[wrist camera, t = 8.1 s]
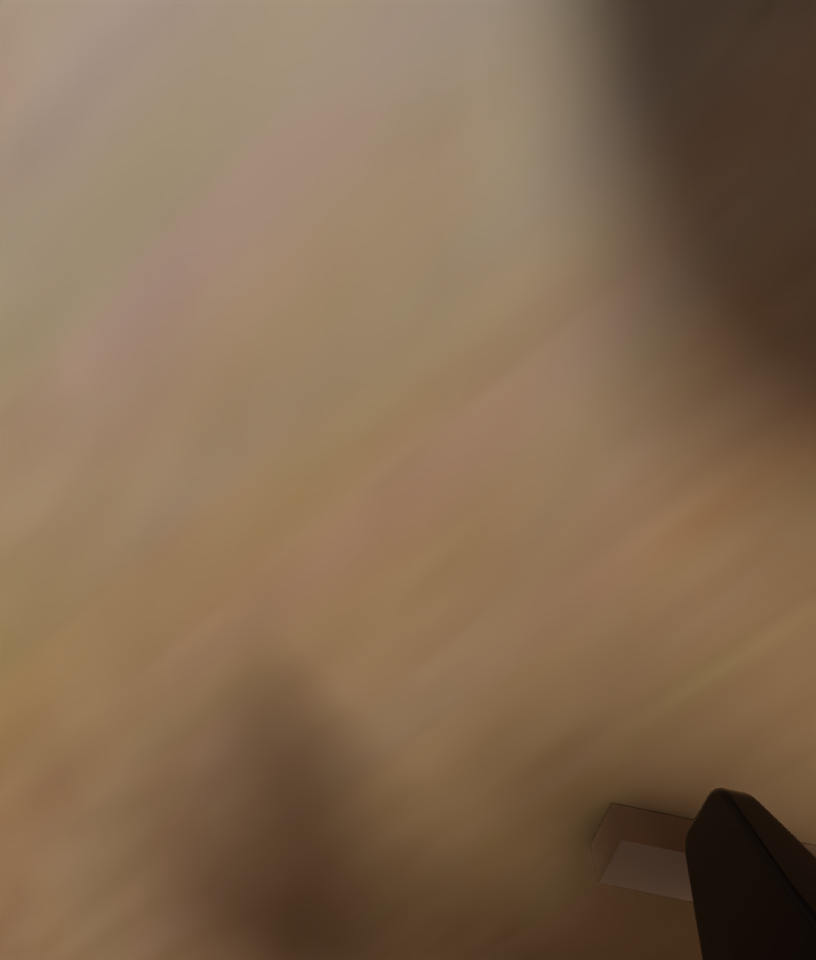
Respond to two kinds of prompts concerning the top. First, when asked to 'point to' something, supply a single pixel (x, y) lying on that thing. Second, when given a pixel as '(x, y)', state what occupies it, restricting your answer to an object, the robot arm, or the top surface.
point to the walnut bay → (644, 852)
